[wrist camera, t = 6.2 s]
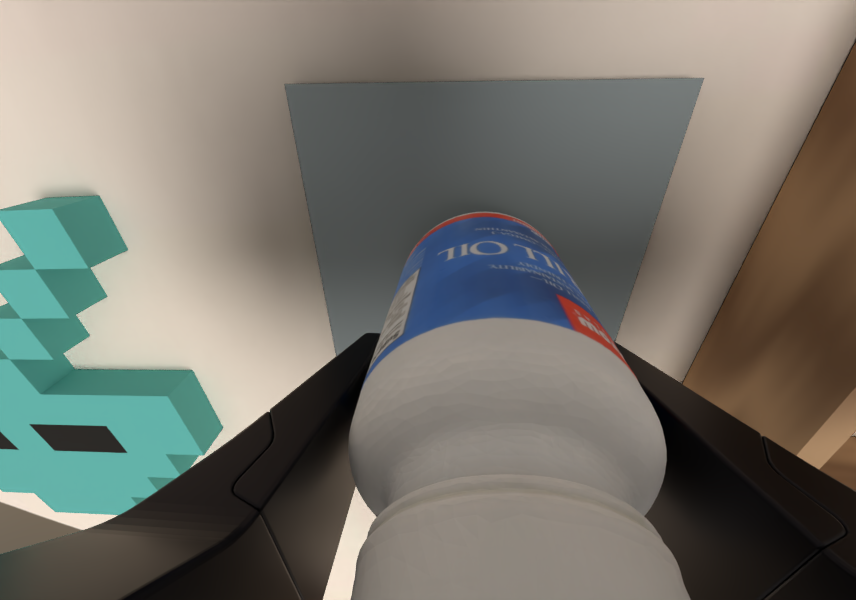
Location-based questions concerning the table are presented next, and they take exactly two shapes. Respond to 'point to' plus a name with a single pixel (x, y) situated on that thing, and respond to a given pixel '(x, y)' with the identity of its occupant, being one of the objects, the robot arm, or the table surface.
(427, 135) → the slate mat
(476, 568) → the pill bottle
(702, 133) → the table surface
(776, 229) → the walnut box
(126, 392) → the alien figure
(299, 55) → the table surface
